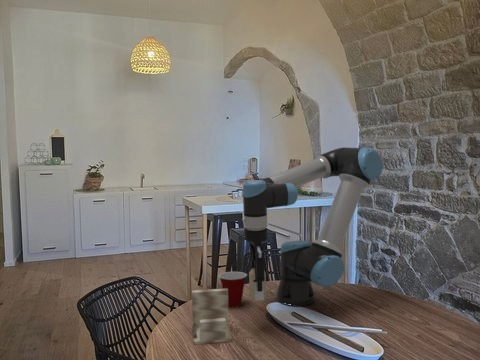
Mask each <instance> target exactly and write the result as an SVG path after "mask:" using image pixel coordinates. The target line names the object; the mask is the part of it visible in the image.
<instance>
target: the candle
mask: <svg viewBox="0 0 480 360" xmlns="http://www.w3.org/2000/svg"><path fill="white" fill-rule="evenodd" d="M248 278H249V279H248V281H249V282H248V284H249V287H248V288H249V299H250V300H253V301H255V282H253V280H255V268H252V269H251V270H250V271H248ZM264 278H265V281H263V289H264V300H265V299H266V298H267V279H266V278H267V274H266V271H265V270H264Z"/></svg>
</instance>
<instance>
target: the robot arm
mask: <svg viewBox="0 0 480 360" xmlns="http://www.w3.org/2000/svg"><path fill="white" fill-rule="evenodd" d="M382 172H383V160H382V156H381V155H380V153H379V152H378V151H377V150H376V149H374V148H371V147H365V146H363V147H339V148H335V149H332V150H330V151H327V152H324V153H322V154H319V155H316V156H315V158H314V159H313V160H311V161H308V162H305V163H303V164H300V165H296V166H295V167H292V168H289V169H286V170H284V171H280V172H278V173H275V174H274V175H270V176H267V177H264V178H262V179H258V180H257V179H256V180H255V179H253V180H246V181H245V182H244V183H243V186H242V202H243V206H242V207H243V218H242V219H241V220H242V222H243V223H244V224H243V226H244V231H243V233H244V235H243V237H244V240H245V241H246V242H248V245H249V270H250V271H251V269H252V268H255V280H253V282H255V300H254V301H255V302H257V301H264V300H265V299H264V289H263V281H265V278H264V271H265V251H264V246H263V245H262V242H265V241H267V239H268V214H267V213H268V209H272V208H280V207H288V206H292V205H294V204H296V203H297V200H298V190H297V188H298V187H301V186H304V185H307V184H309V183H311V182H314V181H317V180H318V179H328V178H330V177H331V178H332V177H338V178H339V179H340V183H339V185H338V188H337V191H336V193H335V195H334V197H333V198H334V199H333V200H332V202H331V205H330V207H329V211H328V212H327V213H328V214H327V215H326V217H325V220H324V224H323V225H322V228H321V231H320V232H319V235H318V238H317V239H316V240H314V241H312V242H311V241H308V240H290V241H285V242H283V243H282V244H281V246H280V253H279V254H280V281H279V283H278V287H277V290H276V295H275V296H276V298H275V299H276V300H277V302H279V303H281V304H282V303H286V304H291V305H296V306H295V307H304V306H309V305H312V304H314V302H315V301H316V294H315V291H314V288H313V284H314V285H317V286H321V287H325V288H326V287H327V288H329V287H331V286H333V285H335V284H337V283H338V282H339V281H340V280H341V278H342V276H343V275H344V271H345V270H344V269H345V266H344V265H345V264H344V261H343V259H342V257H343V253H342V250H341V247H342V244H343V242H344V240H345V237H346V234H347V232H348V230H349V226H350V224H351V221H352V219H353V216H354V214H355V212H356V209H357V206H358V204H359V201H360V198H361V195H362V193H363V191H364V190H366V189H368V188H369V186H370V184H371V182H372V181H374V180H377V179H379V177H380V176H381V175H382ZM312 283H313V284H312Z"/></svg>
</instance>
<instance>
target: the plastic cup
mask: <svg viewBox="0 0 480 360" xmlns="http://www.w3.org/2000/svg"><path fill="white" fill-rule="evenodd" d="M247 276H248V275H247V273H245V272H242V271H225V272H221V273H220V274H218V277H219V279H220V282H221V287H222V288H221V289H225V288H228V308H238V307H240V306H241V304H242V300H243V299H242V298H243V296H244V295H243V294H244V289H245V283H246V279H247Z"/></svg>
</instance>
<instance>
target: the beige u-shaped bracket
mask: <svg viewBox="0 0 480 360" xmlns="http://www.w3.org/2000/svg"><path fill="white" fill-rule="evenodd" d="M191 294H192V295H191V301H192V302H191V305H192V308H191V309H192V310H191V312H192V332H193V333H192V335H193V345H201V344H212V343H213V344H214V343H215V344H216V343H226V342H227V343H228V342H233V336H232V333H231V329H230V325H229V324H230V323H229V320H230V319H229V318H230V317H229V314H230V313H229V307H228V288H225V289H223V288H212V289H209V288H208V289H196V290H191Z"/></svg>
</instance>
